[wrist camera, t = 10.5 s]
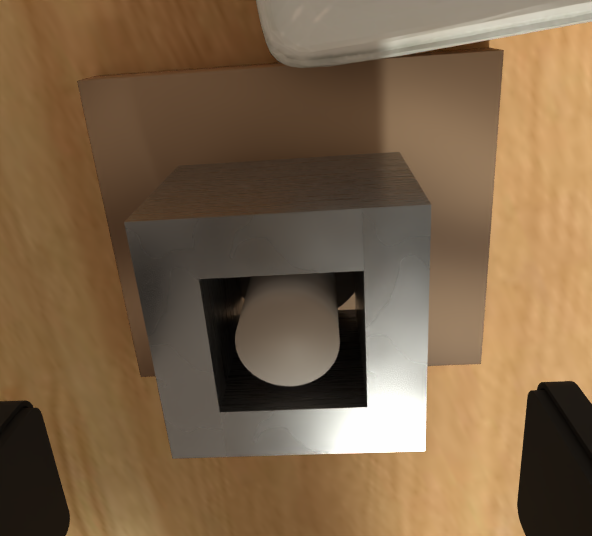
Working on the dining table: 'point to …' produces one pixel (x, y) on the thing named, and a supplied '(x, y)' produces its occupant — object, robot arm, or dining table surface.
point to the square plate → (400, 26)
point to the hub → (284, 261)
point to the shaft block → (303, 144)
